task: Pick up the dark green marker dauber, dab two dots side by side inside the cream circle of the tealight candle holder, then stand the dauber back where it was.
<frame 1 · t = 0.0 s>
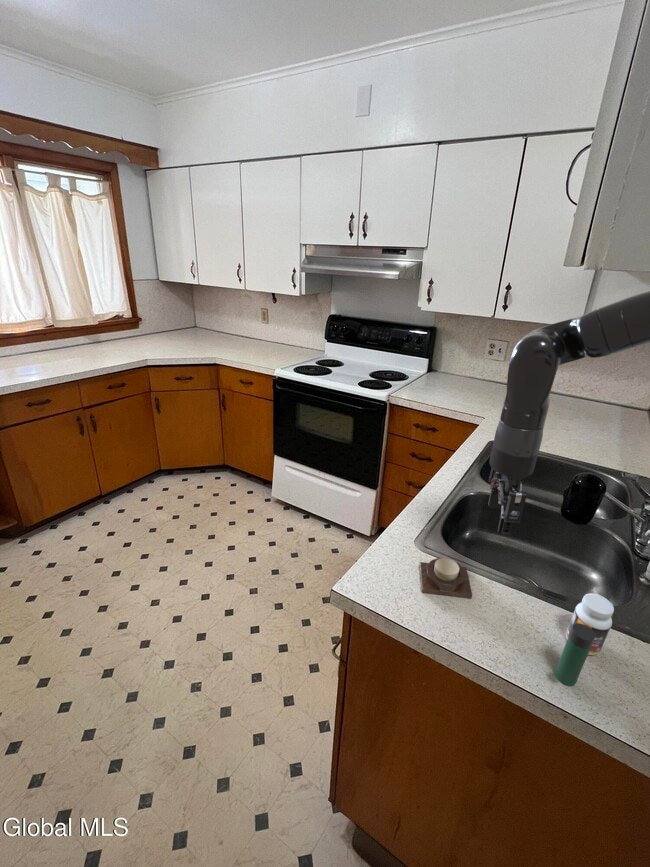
hand: (498, 519, 82), 18 cm above the worktop, tool pointing down, fingers open, 8 cm apart
dot pad: (446, 569, 89), point 3 cm above the worktop, slide at 0.0 cm
tealight candle holder: (444, 581, 91), on the worktop
dauber: (565, 677, 72), on the worktop
pill bottle: (582, 643, 78), on the worktop
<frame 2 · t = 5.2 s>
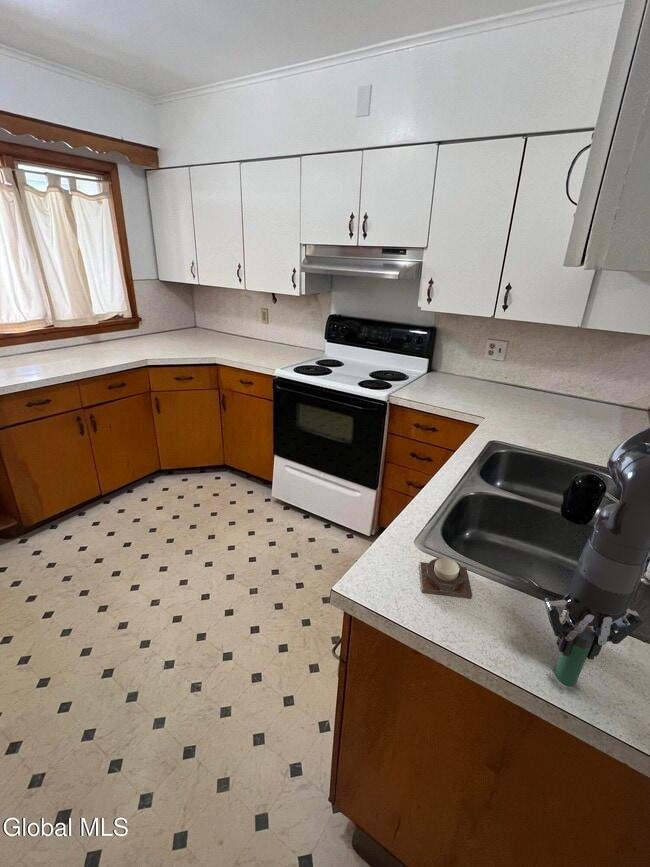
hand: (575, 652, 69), 6 cm above the worktop, tool pointing down, fingers closed on dauber, 3 cm apart
dauber: (565, 677, 72), on the worktop, touching gripper
everything else where it was.
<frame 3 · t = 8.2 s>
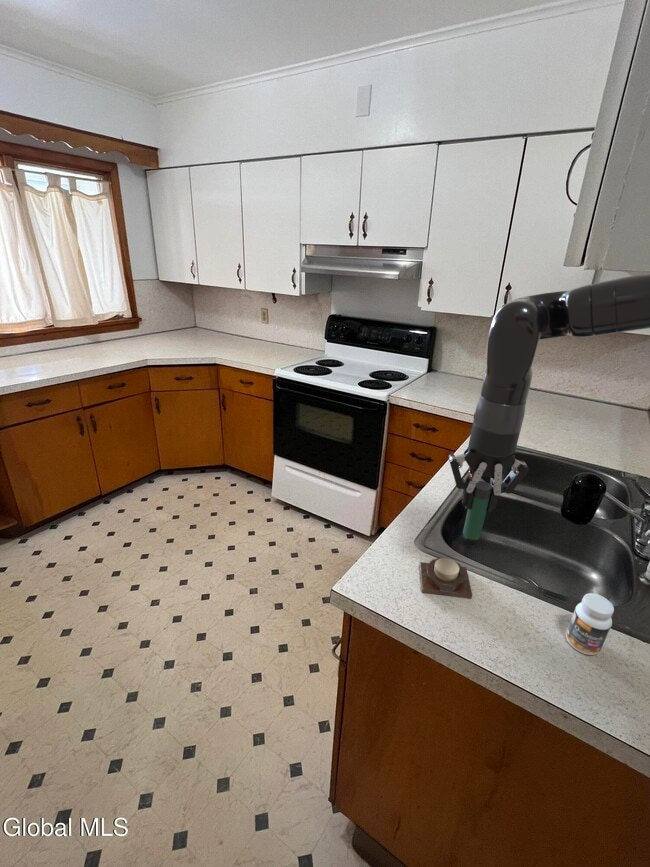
hand: (477, 507, 78), 22 cm above the worktop, tool pointing down, fingers closed on dauber, 3 cm apart
dauber: (471, 534, 81), point 16 cm above the worktop, touching gripper
everything else where it was.
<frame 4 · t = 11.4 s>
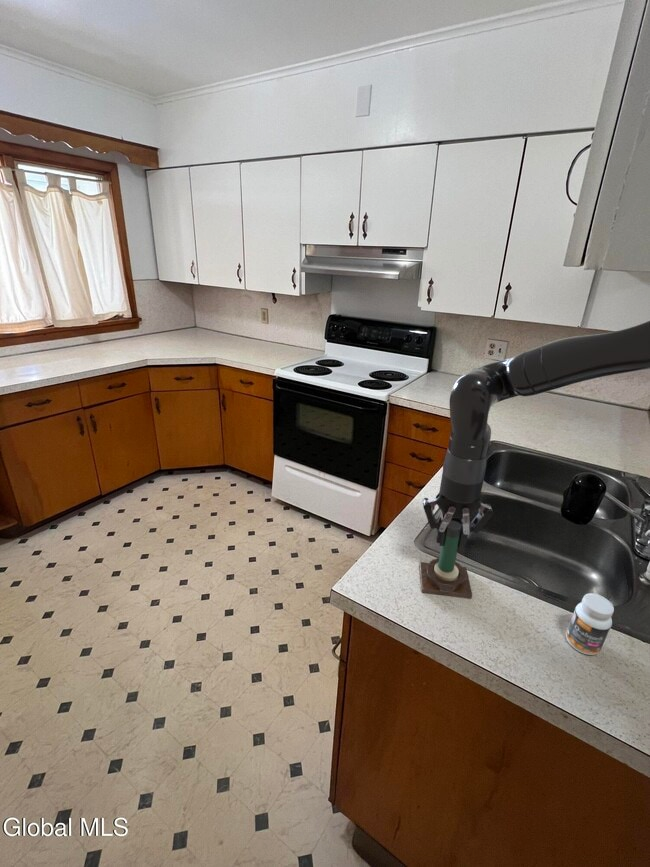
hand: (450, 544, 87), 10 cm above the worktop, tool pointing down, fingers closed on dauber, 3 cm apart
dot pad: (445, 572, 90), point 3 cm above the worktop, slide at -0.8 cm, touching dauber
dauber: (445, 567, 90), point 3 cm above the worktop, touching dot pad, gripper
everything else where it was.
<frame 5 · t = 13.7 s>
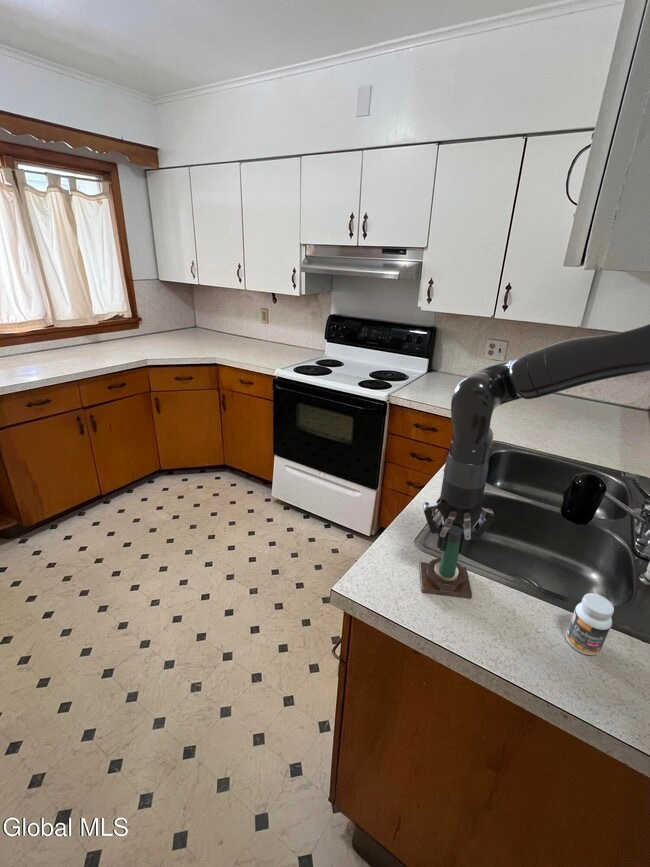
hand: (451, 549, 86), 10 cm above the worktop, tool pointing down, fingers closed on dauber, 3 cm apart
dauber: (446, 572, 89), point 3 cm above the worktop, touching dot pad, gripper
everything else where it was.
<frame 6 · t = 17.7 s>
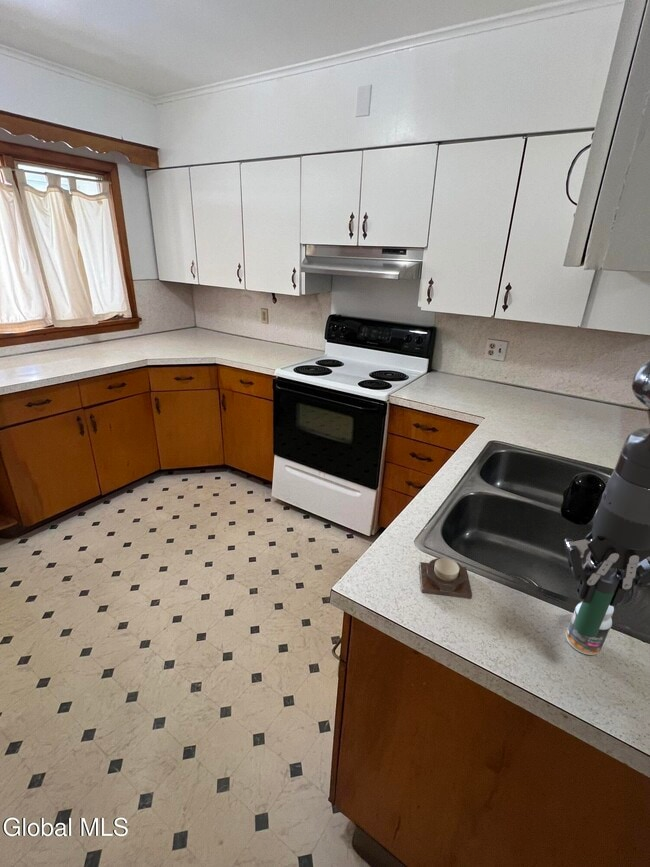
hand: (596, 599, 64), 18 cm above the worktop, tool pointing down, fingers closed on dauber, 3 cm apart
dot pad: (446, 569, 89), point 3 cm above the worktop, slide at 0.0 cm
dauber: (585, 628, 67), point 12 cm above the worktop, touching gripper
everything else where it was.
when the fingers open (6 cm above the worktop, at t = 20.6 s): dauber stays where it is, on the worktop.
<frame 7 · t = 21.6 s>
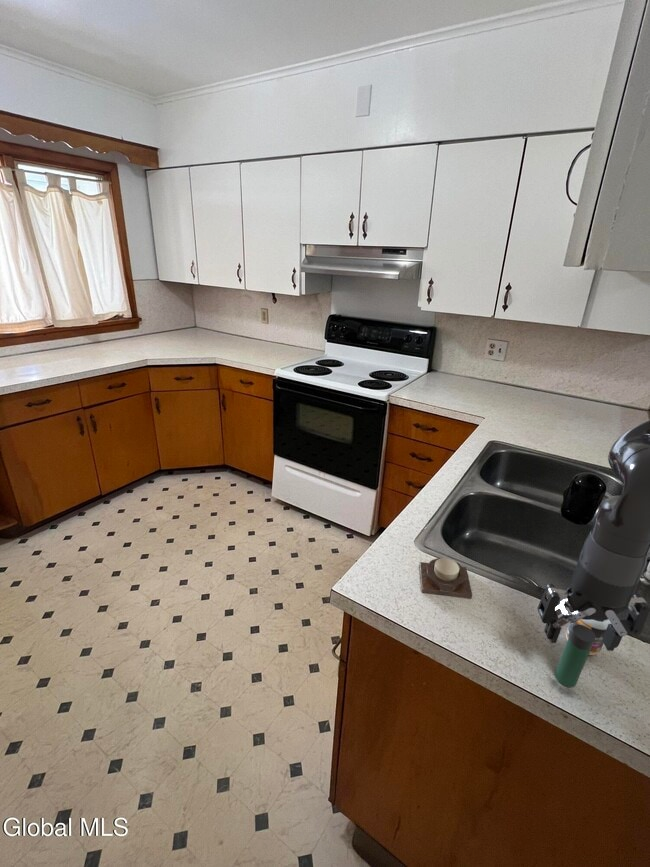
hand: (578, 642, 68), 8 cm above the worktop, tool pointing down, fingers open, 8 cm apart
dauber: (565, 678, 72), on the worktop
everything else where it was.
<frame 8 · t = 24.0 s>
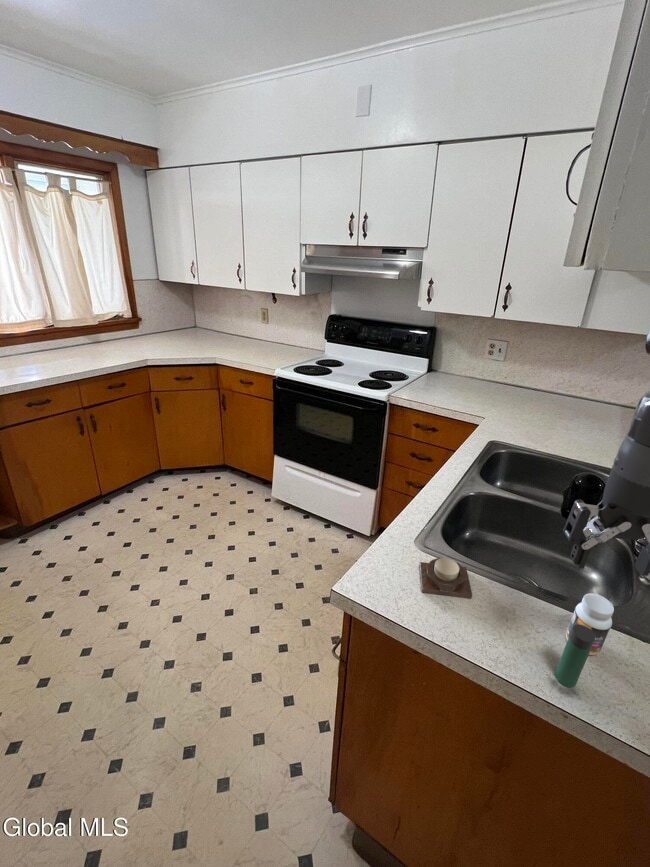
hand: (609, 568, 61), 24 cm above the worktop, tool pointing down, fingers open, 8 cm apart
nothing on the worktop moved.
at the end: dot pad pushed in 0.8 cm at the most during the clip, back to where it started at the end; dauber 0.2 cm from the target spot, on the worktop; dauber tilted 0° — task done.
